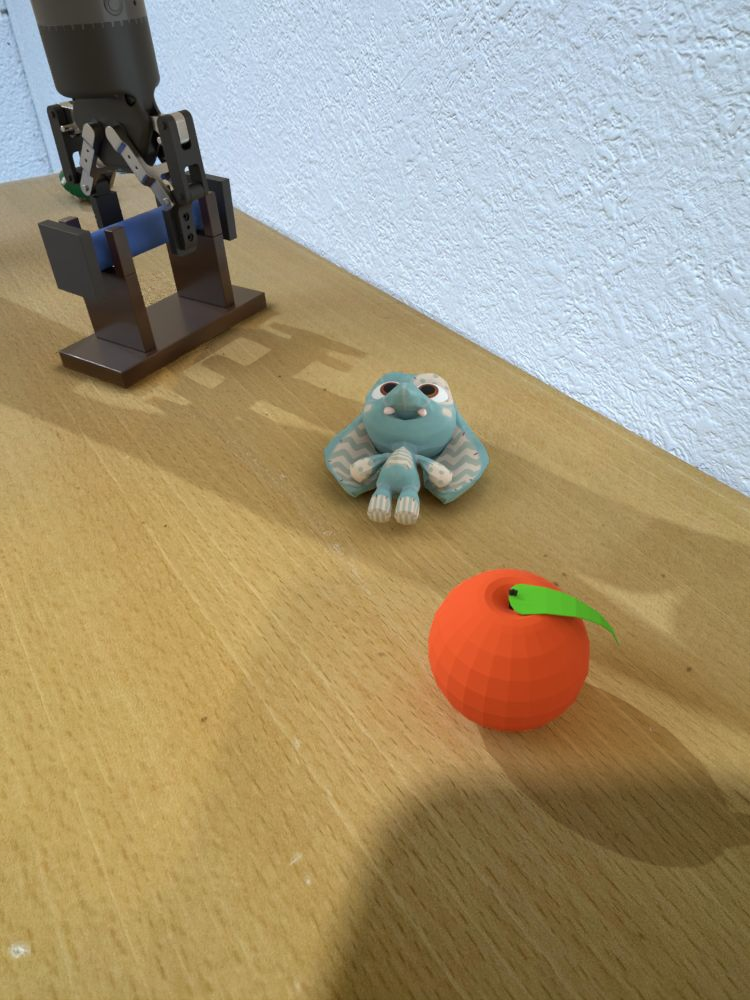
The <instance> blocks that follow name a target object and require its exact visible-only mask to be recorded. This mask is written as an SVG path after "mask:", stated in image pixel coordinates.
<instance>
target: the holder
mask: <svg viewBox="0 0 750 1000" xmlns="http://www.w3.org/2000/svg"><path fill="white" fill-rule="evenodd" d="M165 185H166V186H167V188H168V189H169V191H172V189H171V184H167V183H165ZM154 199H155V202H156V208H157V207H160V206H162V205H161V203H160V202H159V200H158V199H157V198H156V196H155V195H154ZM198 201H199V206H200V211H201V216H202V221H203V226H204V230H201V229H198V230H196V233H197V238H198V241H197V247H196V250H195V251H194V252H192V253H190V254H187V255H185V256H183V257H180V256H175V255H173V254H172V252H171V248H170V244H169V242H168V243H165V245H166V246H165V247H166V250H167V254H168V259H169V263H170V268H171V271H172V277H173V280H174V285H175V288H176V292H174V293H172V294H170V295H168V296H166V297H164V298H162V299H160V300H158V301H156V302H154V303H152V304H149V305H148V306H146V303H145V300H144V296H143V292H142V289H141V286H140V285H141V284H140V281H139V277H138V273H137V270H136V265H135V263H134V262H135V261H134V259H133V258H134V257H133V258H132V254H131V251H130V247H129V243H128V239H127V236H126V232H125V228H124V227H122V226H117V225H115V226H112V227H110V228H107V229H105V230H104V233H105V236H106V240H107V243H108V247H109V250H110V254H111V257H112V261H113V264H114V266H112V267H109V268H107V269H105V270H102V271H101V274H102V278H103V282H104V286H105V289H106V293H107V297H108V298H107V299H104V300H102V301H100V302H95V301H92V300H90V299H87V298H84V297H82V298H83V301H84V304H85V307H86V310H87V313H88V317H89V319H90V323H91V325H92V329H93V333H92V334H89V335H88V336H86V337H83V338H81V339H79V340H78V341H76V342H74V343H72V344H70V345H68V346H66V347H63V348H61V349H60V350H58V354H59V357H60V359H61V363H62V366H63V367H64V368H67V369H70V370H73V371H76V372H79V373H81V374H84V375H87V376H90V377H93V378H96V379H98V380H101V381H103V382H107V383H110V384H113V385H115V386H118V387H120V388H124V389H128V388H130V387H131V386H133V385H134V384H136V383H138V382H140V381H141V380H143V379H145V378H147V377H148V376H151V375H152V374H154V373H156V372H157V371H159V370H160V369H162V368H164V367H166V366H167V365H169V364H171V363H172V362H174V361H176V360H177V359H180V358H181V357H183V356H184V355H186V354H188V353H190V352H191V351H193V350H195V349H196V348H199V347H200V346H202V345H204V344H205V343H207V342H208V341H209V342H210V340H212V339H214V338H216V337H217V336H219V335H221V334H222V333H224V332H226V331H228V330H229V329H231V328H233V327H234V326H236V325H238V324H240V323H241V322H242V321H243V322H244V321H245V320H246V319H249V318H250V317H251V316H253V315H255V314H257V313H258V312H260V311H262V310H264V309H265V308H267V306H268V305H267V297H266V294H265V293H266V292H264V291H260V290H257V289H252V288H248V287H244V286H239V285H235V284H232V279H231V275H230V269H229V263H228V257H227V252H226V247H225V241H224V239H223V235H222V230H221V224H220V219H219V213H218V208H217V202H216V196H215V192H212V191H209V193H208V195H207V196H204V197H202V198H199V199H198ZM57 222H59V223H62V224H66V225H69V226H73V227H76V228H80V229H82V226H81V222H80V219H79V217H77V216H73V215H69V216H65V217H63V218H60V219H58V221H57Z"/></svg>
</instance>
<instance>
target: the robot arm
mask: <svg viewBox="0 0 750 1000" xmlns="http://www.w3.org/2000/svg"><path fill="white" fill-rule="evenodd" d="M29 1H30V5H31V9H32V13H33V15H34V19H35V22H36V26H37V29H38V33H39V36H40V40H41V43H42V47H43V50H44V53H45V57H46V60H47V64H48V67H49V70H50V74H51V77H52V81H53V84H54V87H55V90H56V92H57V93H58V94H59V95H61V96H62V97H64V98H67V99H71V100H65V101H60V102H56V103H54V104H50V105H47V107H46V114H47V118H48V121H49V125H50V129H51V132H52V136H53V141H54V144H55V147H56V151H57V154H58V158H59V162H60V166H61V168H62V170H63V173H64V177H65V180H66V181H67V183H68V184H69V185H75V184H77V185H78V186H80V187H81V189H82V191H83V193H84V194H85V195H87V196H89V198H90V200H89V202H90V205H91V209H92V211H93V212H92V213H93V215H94V218H95V223H96V226H97V228H98V230H99V229H102V228H105V227H107V226H110V225H113V224H115V223H118V222H120V221H123V220H125V218H124V216H123V211H122V208H121V204H120V200H119V197H118V191H116V190H111V189H113V187H114V184H115V179H116V176H117V171H118V170H121V171H123V172H125V173H127V174H132V175H134V176H135V178H136V179H137V181H139V183H140V184H141V185H142V186H144V187H148V188H149V189H150V190H151V191H152V194H153V195H154V197H155V196H156V198H157V199H158V200H159V202H160V203H161V205H162V206H163V208H164V209H163V210H162V213H163V218H164V222H165V226H166V231H167V235H168V239H169V244H170V248H171V252H172V254H173V255H175V256H180V257H183V256H185V255H187V254H190V253H192V252H194V251H195V250H196V247H197V241H198V238H197V233H196V228H195V224H194V219H193V214H192V209H191V205H192V202H193V201H194V200H197V199H199V198H202V197H204V196H207V195H208V193H209V188H208V184H207V179H206V175H205V174H206V171H205V166H204V162H203V158H202V154H201V149H200V144H199V139H198V134H197V131H196V127H195V122H194V117H193V115H192V114H191V112H190V111H189V110H188V109H182V110H178V111H174V112H170V113H162V112H161V110H160V108H159V106H158V104H157V102H156V99H155V91H156V89H157V87H158V86H159V85H160V83H161V76H160V70H159V65H158V61H157V57H156V52H155V51H156V50H155V46H154V41H153V37H152V32H151V27H150V23H149V22H150V21H149V18H148V13H147V12H148V11H147V8H146V2H145V0H29ZM77 152H78V156H79V162H78V164H79V166H76V164H75V160H74V154H75V153H77ZM157 159H158V160H159V162H160V163H158V164H156V161H157ZM155 164H156V165H155ZM186 168H188V170H189V173H190V177H191V181H192V183H189V184H188V183H187V179H186V174H185V172H186ZM164 180H165V181H167V182H168V183H169V185H170V187H172V189H171V191H169V189H168V188H167V186H166V185H165V184H166V183H165V182H164Z"/></svg>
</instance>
